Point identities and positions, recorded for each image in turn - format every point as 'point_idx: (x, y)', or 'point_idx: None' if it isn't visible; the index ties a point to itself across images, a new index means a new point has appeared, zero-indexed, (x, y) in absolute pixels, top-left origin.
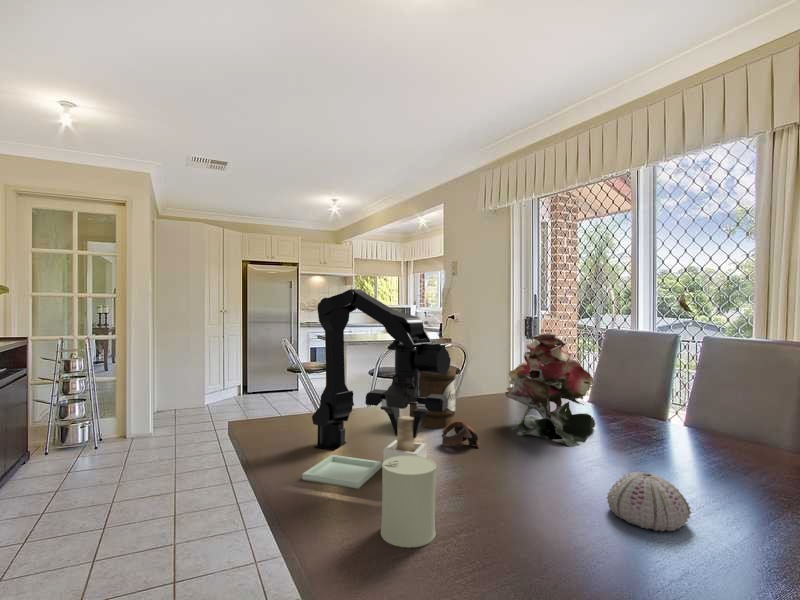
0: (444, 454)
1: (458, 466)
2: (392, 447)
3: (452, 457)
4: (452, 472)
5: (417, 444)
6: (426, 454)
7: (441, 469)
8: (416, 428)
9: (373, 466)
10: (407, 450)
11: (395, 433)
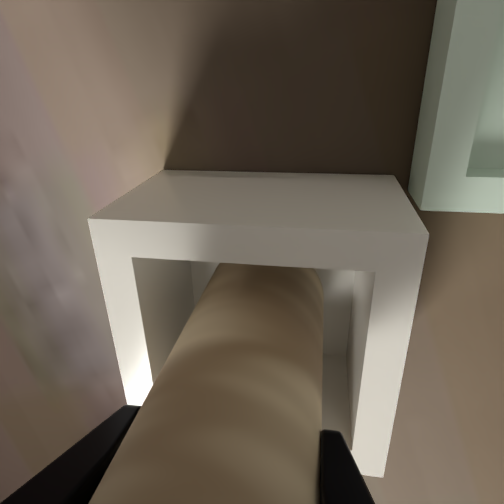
0: None
1: (45, 360)
2: (363, 341)
3: None
4: (32, 287)
5: None
6: None
7: (93, 308)
8: (25, 489)
9: (472, 75)
10: (210, 299)
11: (342, 452)
